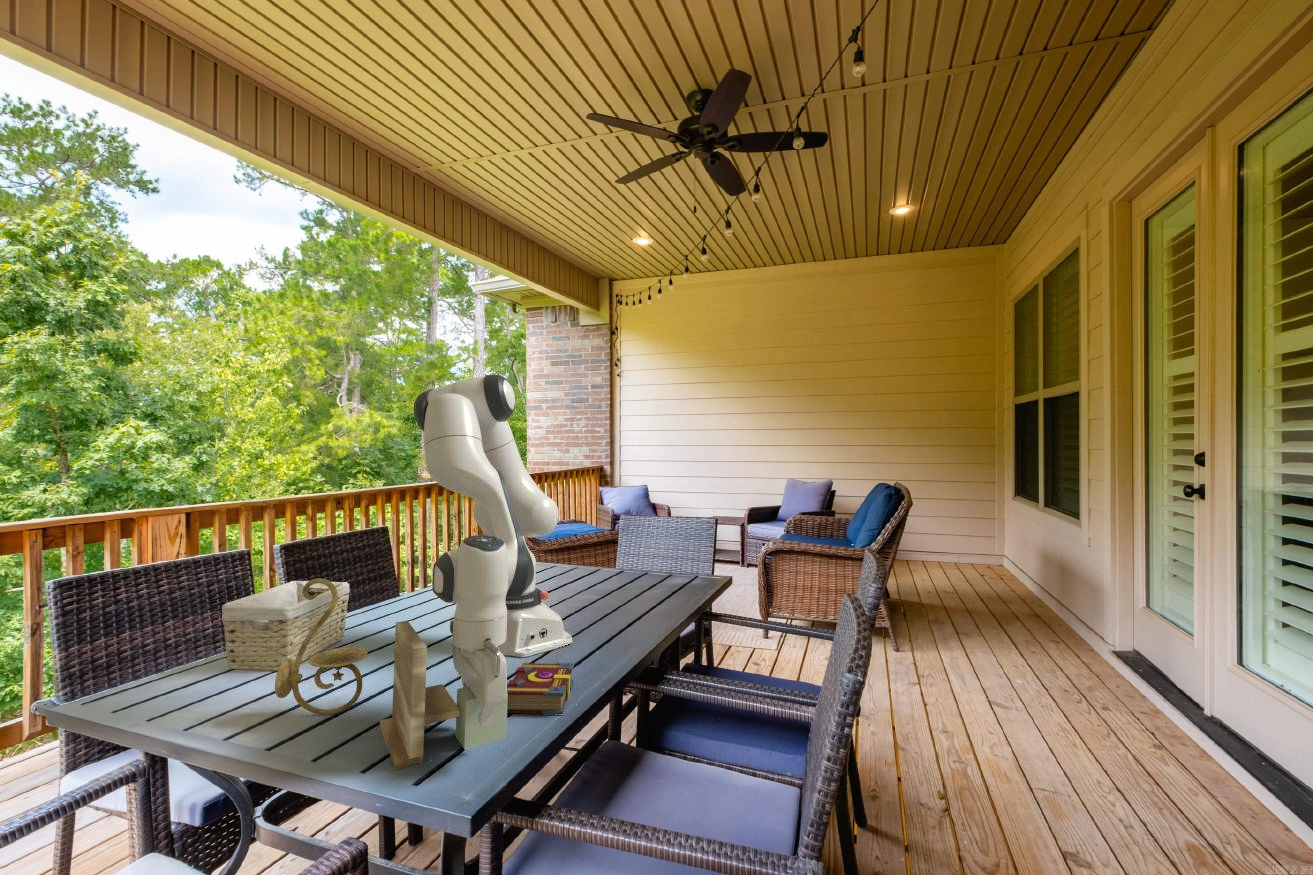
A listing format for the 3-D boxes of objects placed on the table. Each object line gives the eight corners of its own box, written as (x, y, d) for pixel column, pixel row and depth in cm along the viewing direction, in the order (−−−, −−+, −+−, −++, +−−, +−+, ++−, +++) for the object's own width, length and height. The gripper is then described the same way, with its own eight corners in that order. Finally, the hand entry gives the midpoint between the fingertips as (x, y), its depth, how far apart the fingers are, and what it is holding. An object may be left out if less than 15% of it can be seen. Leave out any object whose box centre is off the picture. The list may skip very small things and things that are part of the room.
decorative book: (502, 715, 105) (503, 688, 105) (522, 680, 121) (522, 657, 121) (563, 716, 105) (563, 689, 105) (574, 681, 121) (575, 658, 121)
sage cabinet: (501, 724, 101) (502, 668, 101) (511, 737, 97) (513, 678, 97) (455, 735, 97) (457, 677, 97) (464, 749, 92) (466, 688, 92)
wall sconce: (268, 728, 97) (274, 584, 98) (296, 704, 107) (301, 573, 108) (353, 725, 99) (358, 583, 100) (373, 701, 109) (377, 572, 109)
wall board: (438, 712, 105) (441, 615, 105) (461, 751, 92) (465, 640, 92) (379, 725, 99) (383, 623, 100) (395, 769, 86) (399, 651, 87)
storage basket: (286, 674, 121) (289, 606, 121) (214, 672, 121) (217, 603, 122) (351, 638, 145) (353, 581, 145) (290, 636, 145) (292, 579, 146)
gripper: (518, 646, 90) (515, 734, 89) (481, 614, 107) (478, 688, 106) (478, 652, 86) (475, 744, 86) (447, 619, 103) (444, 695, 103)
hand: (476, 712), depth 96 cm, fingers open, 8 cm apart
